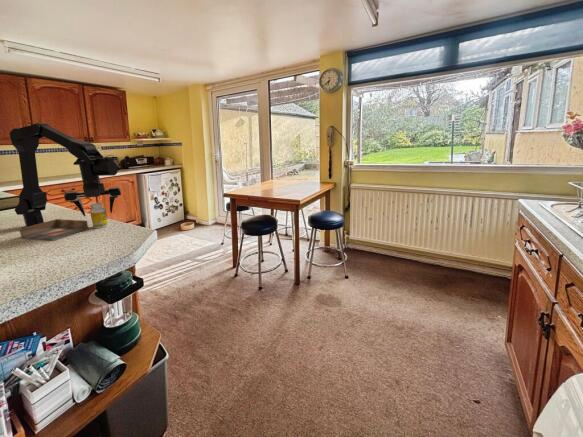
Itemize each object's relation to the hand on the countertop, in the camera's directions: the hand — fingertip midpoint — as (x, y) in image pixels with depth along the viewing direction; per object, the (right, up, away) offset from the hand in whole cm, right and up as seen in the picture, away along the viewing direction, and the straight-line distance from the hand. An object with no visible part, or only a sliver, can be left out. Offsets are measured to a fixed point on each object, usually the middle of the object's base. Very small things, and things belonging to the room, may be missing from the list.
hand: (98, 214), depth 124 cm
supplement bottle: (0, -5, +1) cm, 5 cm away
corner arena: (-12, -7, -6) cm, 16 cm away
